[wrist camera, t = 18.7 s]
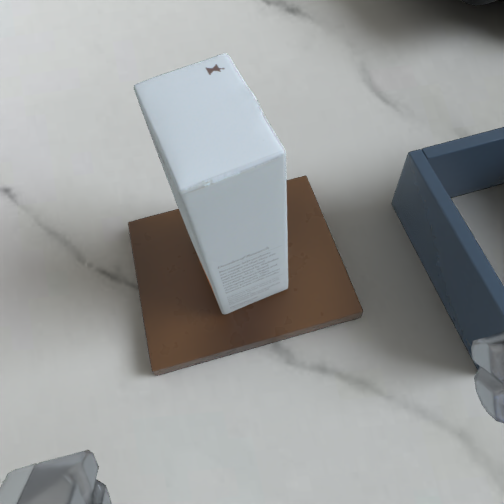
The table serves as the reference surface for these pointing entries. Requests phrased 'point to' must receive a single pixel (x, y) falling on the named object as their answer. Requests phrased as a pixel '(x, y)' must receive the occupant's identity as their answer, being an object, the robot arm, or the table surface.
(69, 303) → the table surface
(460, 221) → the holder
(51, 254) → the table surface
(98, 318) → the table surface
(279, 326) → the coaster
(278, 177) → the cosmetic box
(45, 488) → the robot arm
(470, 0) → the tray
